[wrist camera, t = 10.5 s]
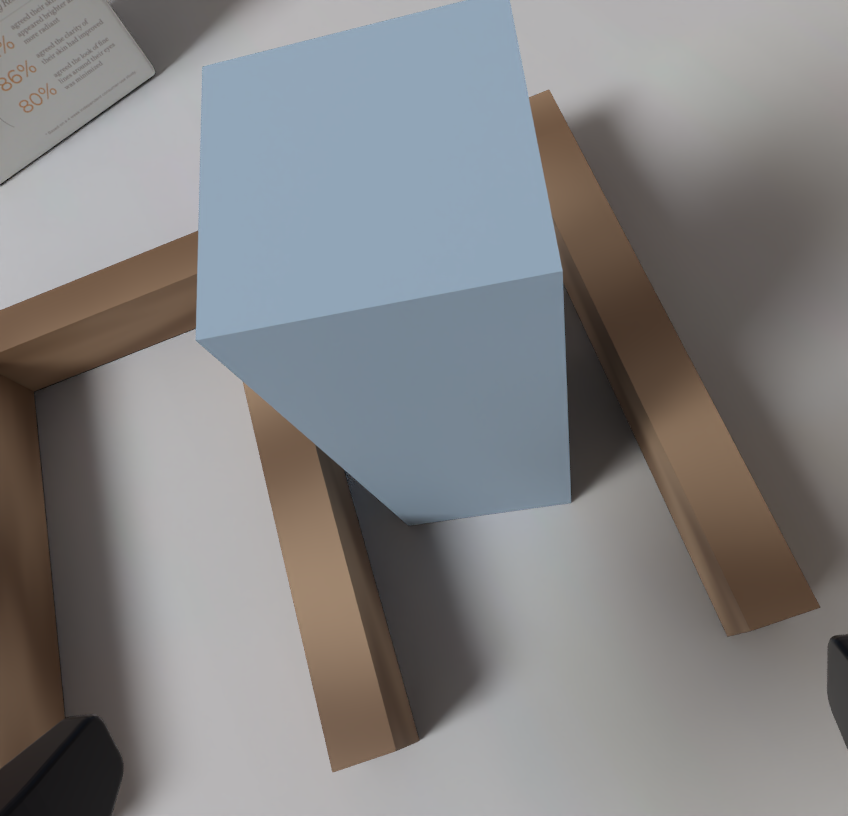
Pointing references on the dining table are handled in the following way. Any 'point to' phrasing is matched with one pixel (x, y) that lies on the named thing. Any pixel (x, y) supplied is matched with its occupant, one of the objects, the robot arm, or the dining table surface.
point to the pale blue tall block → (392, 258)
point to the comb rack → (326, 481)
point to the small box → (59, 72)
